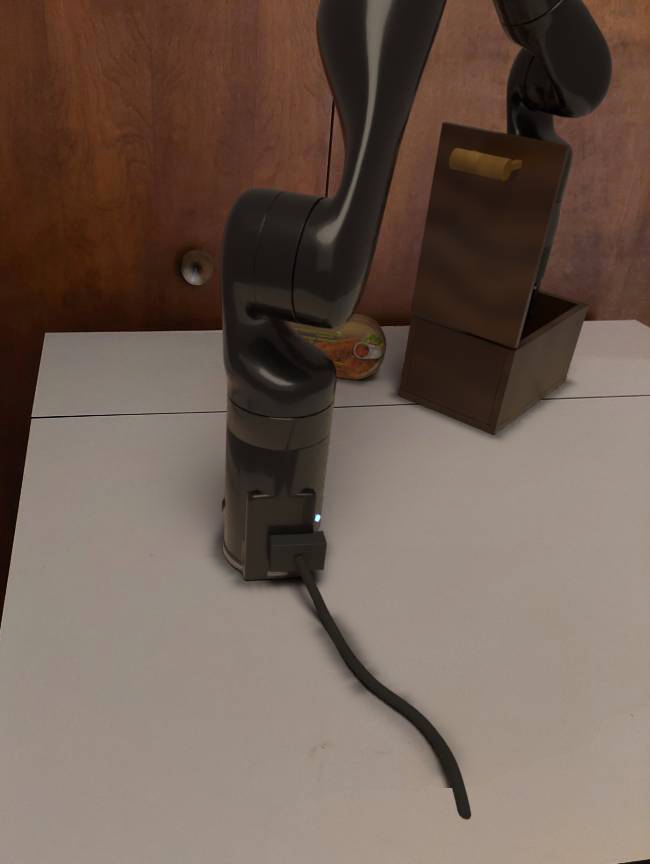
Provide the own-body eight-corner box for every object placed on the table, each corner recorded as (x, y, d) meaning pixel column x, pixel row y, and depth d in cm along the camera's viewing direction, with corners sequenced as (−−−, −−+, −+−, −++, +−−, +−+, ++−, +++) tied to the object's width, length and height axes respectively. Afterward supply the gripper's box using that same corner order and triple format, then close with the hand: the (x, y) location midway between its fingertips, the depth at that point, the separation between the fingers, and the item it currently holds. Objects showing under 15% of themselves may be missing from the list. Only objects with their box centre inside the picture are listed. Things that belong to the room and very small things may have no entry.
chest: (474, 349, 117) (491, 274, 110) (565, 381, 110) (589, 304, 103) (397, 395, 105) (411, 315, 98) (493, 435, 98) (515, 351, 91)
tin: (271, 367, 110) (274, 308, 105) (277, 357, 112) (281, 299, 107) (379, 385, 107) (388, 325, 102) (383, 374, 109) (392, 315, 104)
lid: (446, 121, 85) (419, 128, 82) (570, 145, 78) (546, 154, 75) (413, 310, 98) (389, 322, 95) (518, 346, 91) (495, 360, 88)
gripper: (521, 257, 88) (489, 389, 98) (576, 230, 97) (541, 354, 107) (462, 240, 92) (436, 369, 102) (520, 216, 101) (491, 337, 111)
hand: (490, 361), depth 105 cm, fingers open, 8 cm apart
